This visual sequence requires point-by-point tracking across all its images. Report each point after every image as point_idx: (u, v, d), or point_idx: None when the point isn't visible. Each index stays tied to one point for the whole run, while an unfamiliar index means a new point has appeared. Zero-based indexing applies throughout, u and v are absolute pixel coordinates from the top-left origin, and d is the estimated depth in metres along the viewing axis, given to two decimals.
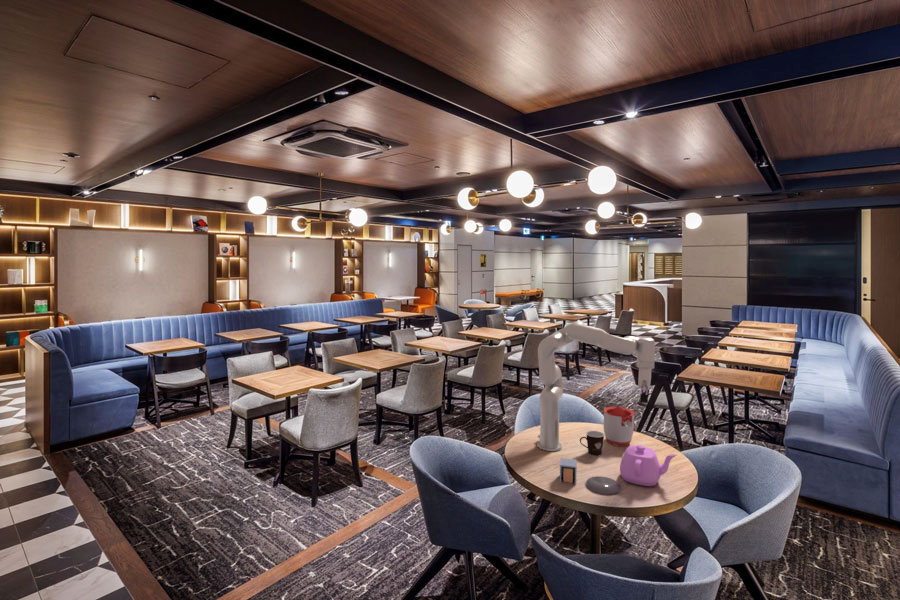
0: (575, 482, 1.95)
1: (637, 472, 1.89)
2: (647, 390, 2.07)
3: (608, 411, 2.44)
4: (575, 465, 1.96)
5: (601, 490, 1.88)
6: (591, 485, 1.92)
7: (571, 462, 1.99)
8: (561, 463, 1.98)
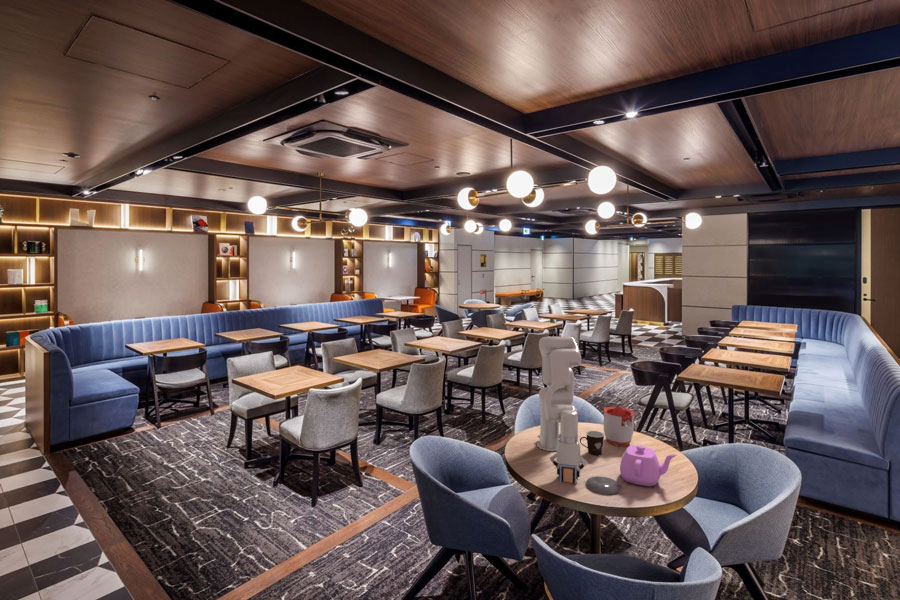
0: (575, 482, 1.95)
1: (637, 472, 1.89)
2: None
3: (608, 411, 2.44)
4: None
5: (601, 490, 1.88)
6: (591, 485, 1.92)
7: None
8: None
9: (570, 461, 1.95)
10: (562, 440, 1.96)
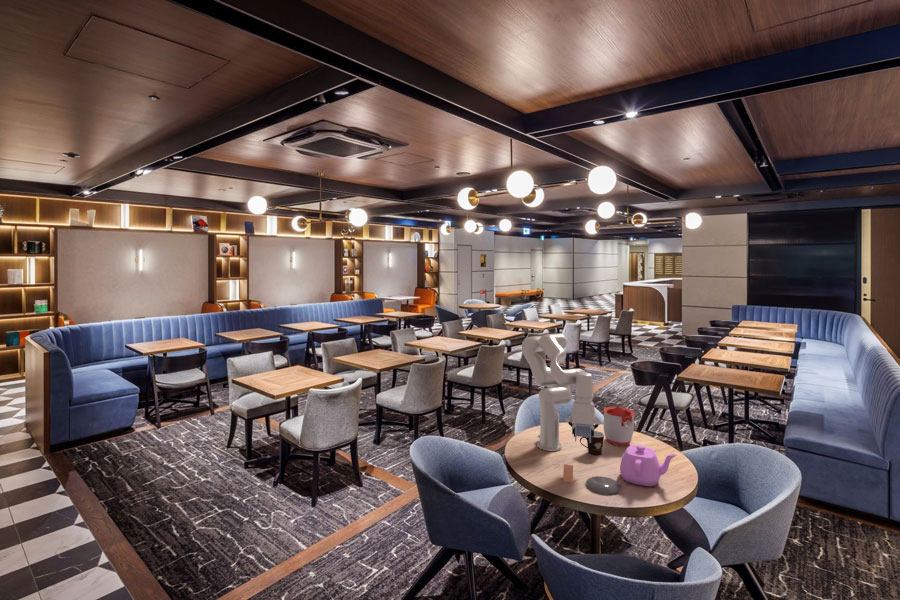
0: (590, 440, 2.04)
1: (637, 472, 1.89)
2: None
3: (608, 411, 2.44)
4: None
5: (601, 490, 1.88)
6: (591, 485, 1.92)
7: None
8: None
9: (585, 421, 2.05)
10: (577, 401, 2.05)
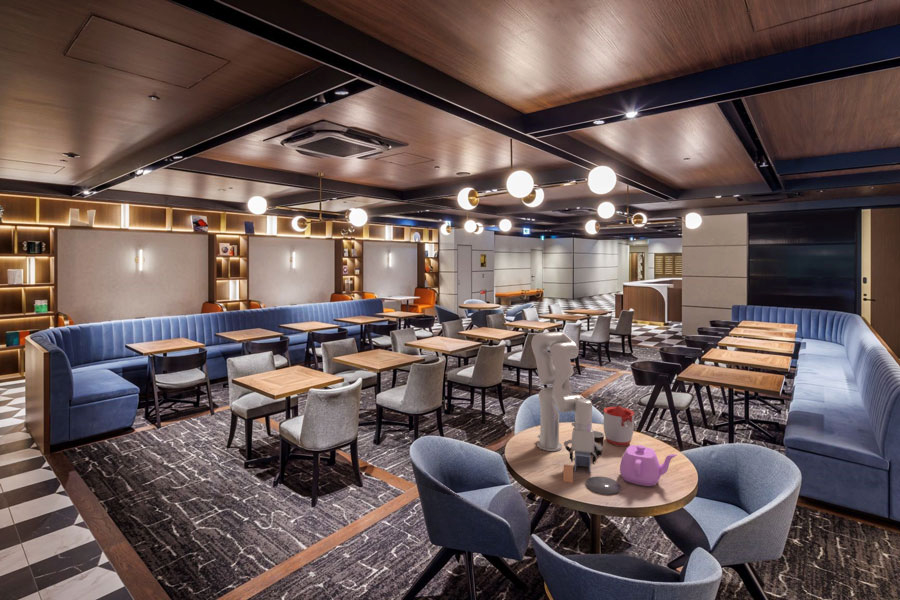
0: (589, 470, 2.06)
1: (637, 472, 1.89)
2: (593, 449, 2.09)
3: (608, 411, 2.44)
4: (589, 454, 2.06)
5: (601, 490, 1.88)
6: (591, 485, 1.92)
7: (585, 452, 2.09)
8: (576, 453, 2.08)
9: (584, 447, 2.06)
10: (577, 428, 2.06)
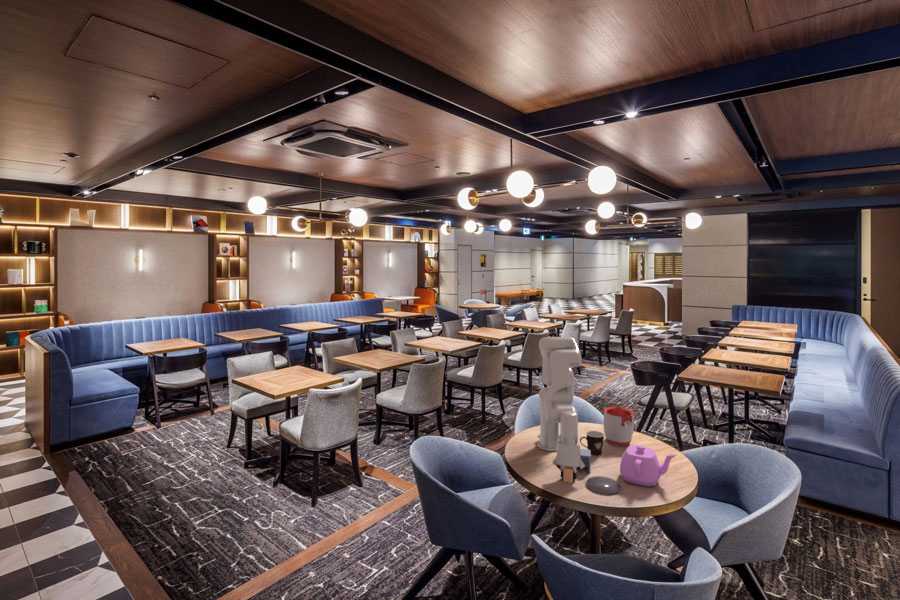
0: (589, 470, 2.06)
1: (637, 472, 1.89)
2: None
3: (608, 411, 2.44)
4: (589, 454, 2.06)
5: (601, 490, 1.88)
6: (591, 485, 1.92)
7: (585, 452, 2.09)
8: None
9: (570, 462, 1.95)
10: (562, 441, 1.96)
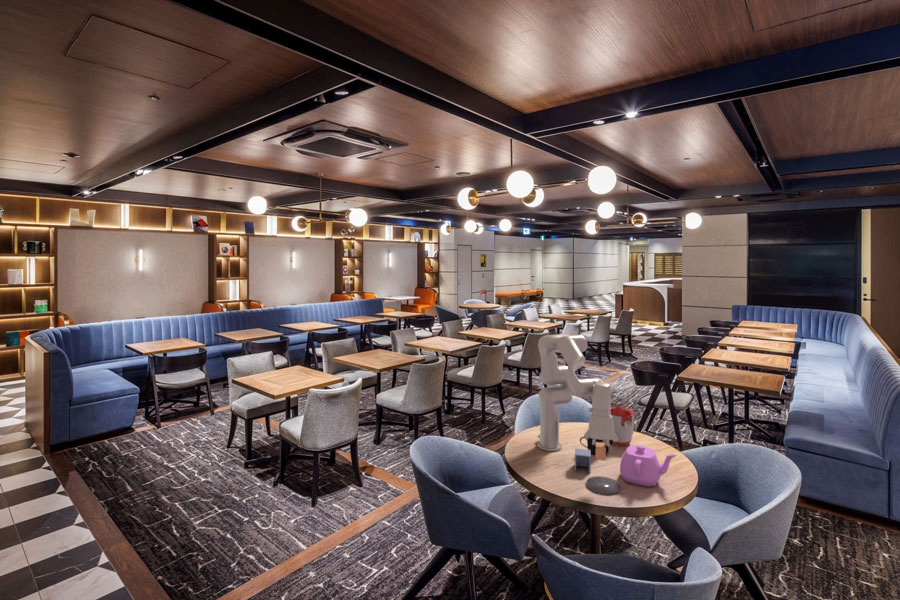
0: (589, 470, 2.06)
1: (637, 472, 1.89)
2: None
3: None
4: (589, 454, 2.06)
5: (601, 490, 1.88)
6: (591, 485, 1.92)
7: (585, 452, 2.09)
8: (576, 453, 2.08)
9: (603, 435, 1.89)
10: (594, 413, 1.89)
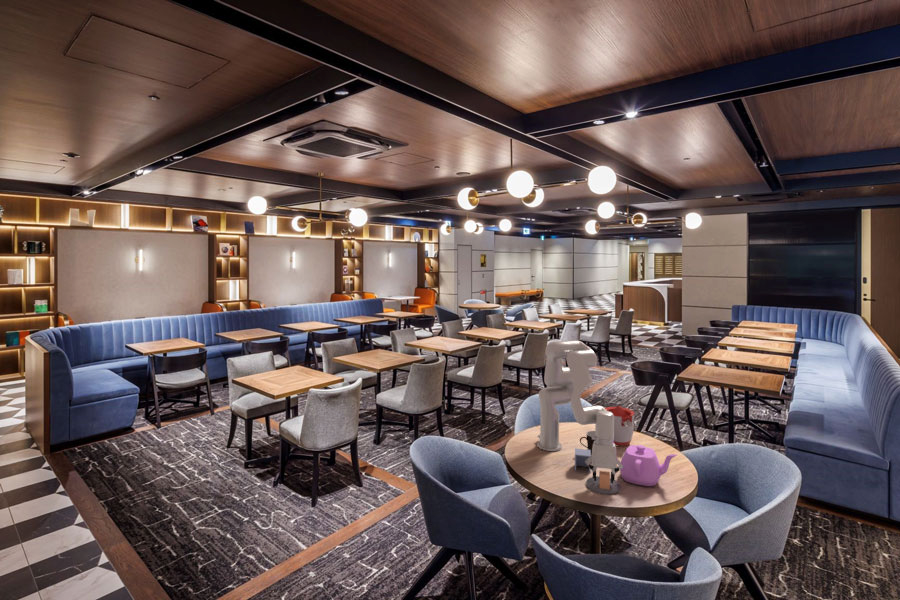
0: (589, 470, 2.06)
1: (637, 472, 1.89)
2: None
3: None
4: (589, 454, 2.06)
5: (601, 490, 1.88)
6: (591, 485, 1.92)
7: (585, 452, 2.09)
8: (576, 453, 2.08)
9: (606, 464, 1.89)
10: (598, 442, 1.90)
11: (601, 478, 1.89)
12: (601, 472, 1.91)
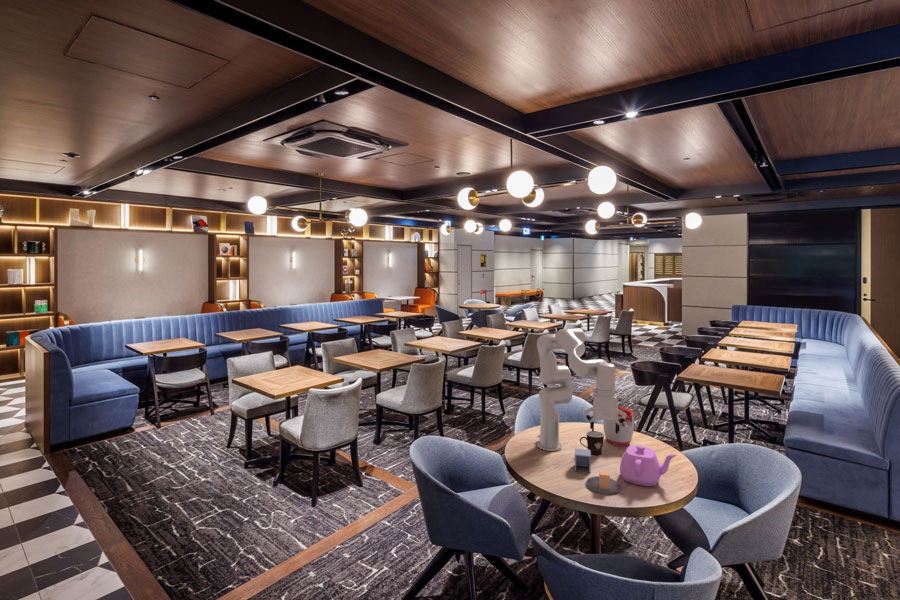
0: (589, 470, 2.06)
1: (637, 472, 1.89)
2: None
3: None
4: (589, 454, 2.06)
5: (601, 490, 1.88)
6: (591, 485, 1.92)
7: (585, 452, 2.09)
8: (576, 453, 2.08)
9: (607, 415, 1.88)
10: (599, 394, 1.88)
11: (601, 478, 1.89)
12: (601, 472, 1.91)
